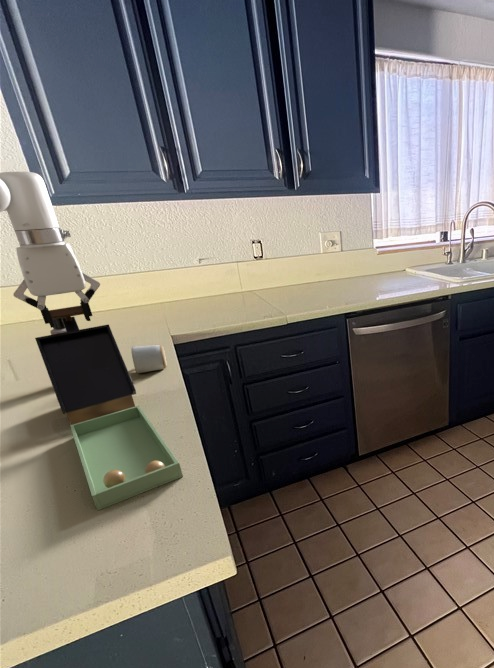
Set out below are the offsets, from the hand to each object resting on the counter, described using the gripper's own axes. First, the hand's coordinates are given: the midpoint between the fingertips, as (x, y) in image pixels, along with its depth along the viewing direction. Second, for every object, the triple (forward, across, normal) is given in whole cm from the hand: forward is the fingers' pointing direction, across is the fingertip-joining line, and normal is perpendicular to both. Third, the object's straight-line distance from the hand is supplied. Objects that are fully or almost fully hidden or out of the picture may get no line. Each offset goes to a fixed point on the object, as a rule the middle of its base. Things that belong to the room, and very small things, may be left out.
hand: (70, 322), depth 95 cm
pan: (+8, 0, +3) cm, 9 cm away
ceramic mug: (+21, -16, -19) cm, 33 cm away
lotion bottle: (+21, +1, -24) cm, 32 cm away
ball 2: (+19, -3, +42) cm, 47 cm away
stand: (+21, 0, 0) cm, 21 cm away
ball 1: (+19, +3, +40) cm, 45 cm away
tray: (+21, 0, +29) cm, 36 cm away
